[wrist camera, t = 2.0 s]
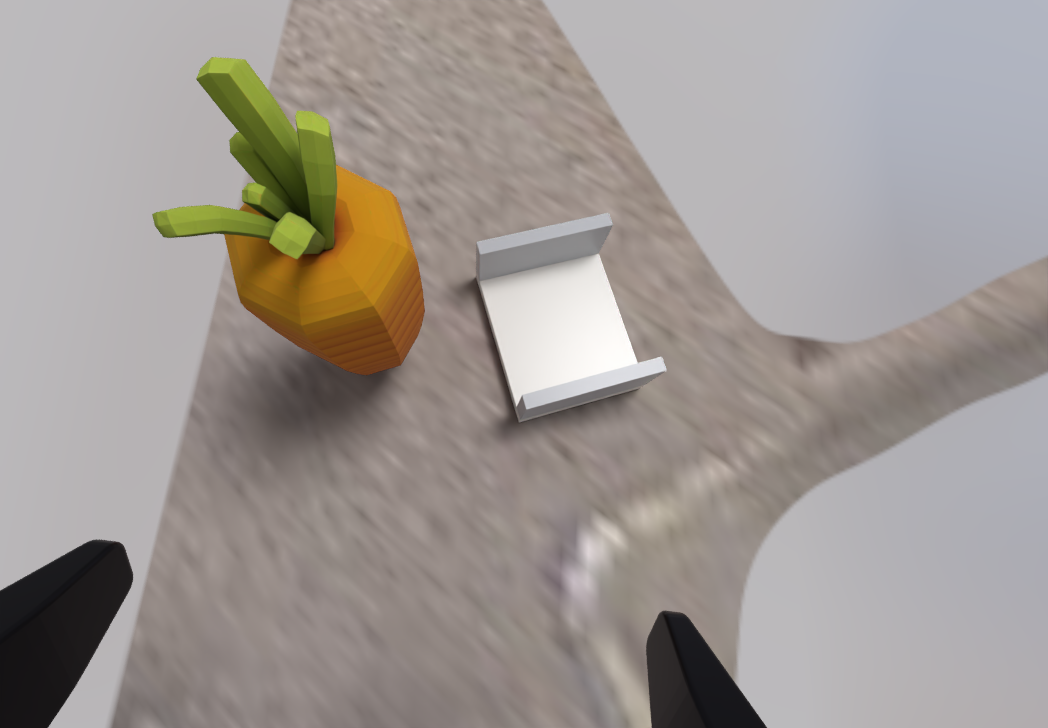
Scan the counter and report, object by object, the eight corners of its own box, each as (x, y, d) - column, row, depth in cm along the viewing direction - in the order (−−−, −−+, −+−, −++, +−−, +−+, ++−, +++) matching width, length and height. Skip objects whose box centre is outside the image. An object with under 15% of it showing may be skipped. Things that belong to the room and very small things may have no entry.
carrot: (434, 411, 23) (368, 262, 8) (321, 403, 23) (50, 231, 8) (445, 308, 24) (404, 27, 10) (339, 298, 24) (133, -9, 9)
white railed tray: (639, 388, 24) (666, 370, 21) (518, 422, 23) (526, 409, 20) (590, 250, 26) (608, 212, 22) (475, 276, 25) (476, 242, 21)
